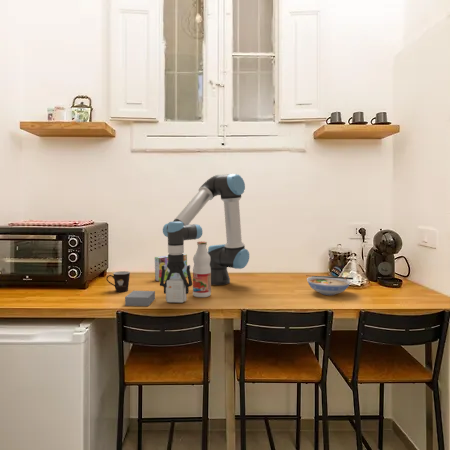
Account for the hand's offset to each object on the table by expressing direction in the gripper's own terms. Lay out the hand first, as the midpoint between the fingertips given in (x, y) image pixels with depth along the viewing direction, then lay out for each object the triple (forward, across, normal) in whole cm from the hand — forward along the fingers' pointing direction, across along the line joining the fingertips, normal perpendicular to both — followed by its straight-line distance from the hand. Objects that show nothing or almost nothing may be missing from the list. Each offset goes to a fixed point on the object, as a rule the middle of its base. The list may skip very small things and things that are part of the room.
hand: (176, 300), depth 166 cm
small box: (+1, 0, 0) cm, 1 cm away
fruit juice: (+1, -11, -14) cm, 18 cm away
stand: (+1, +17, +1) cm, 17 cm away
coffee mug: (+1, +35, -20) cm, 40 cm away
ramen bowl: (+2, -78, -22) cm, 81 cm away
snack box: (+2, +13, -52) cm, 53 cm away
